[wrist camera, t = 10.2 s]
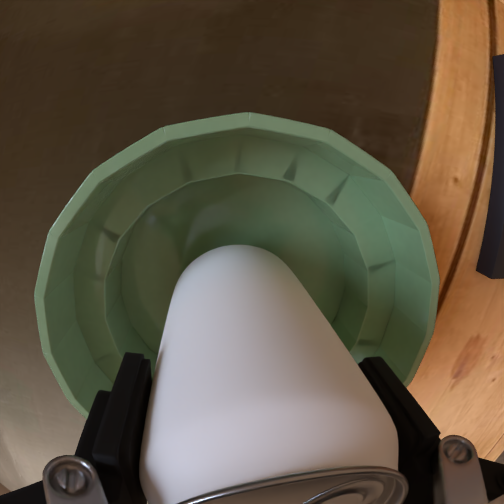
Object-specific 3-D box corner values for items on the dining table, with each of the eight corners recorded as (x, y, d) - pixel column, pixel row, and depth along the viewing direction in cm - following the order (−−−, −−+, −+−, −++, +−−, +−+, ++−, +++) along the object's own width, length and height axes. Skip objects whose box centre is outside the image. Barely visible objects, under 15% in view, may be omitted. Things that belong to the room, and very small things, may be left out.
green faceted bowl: (62, 170, 15) (-12, 183, 8) (359, 118, 16) (434, 105, 10) (141, 409, 20) (127, 484, 14) (368, 366, 21) (412, 429, 15)
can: (319, 317, 17) (436, 503, 5) (218, 373, 17) (238, 578, 6) (260, 215, 15) (400, 390, 3) (147, 285, 15) (65, 510, 4)
